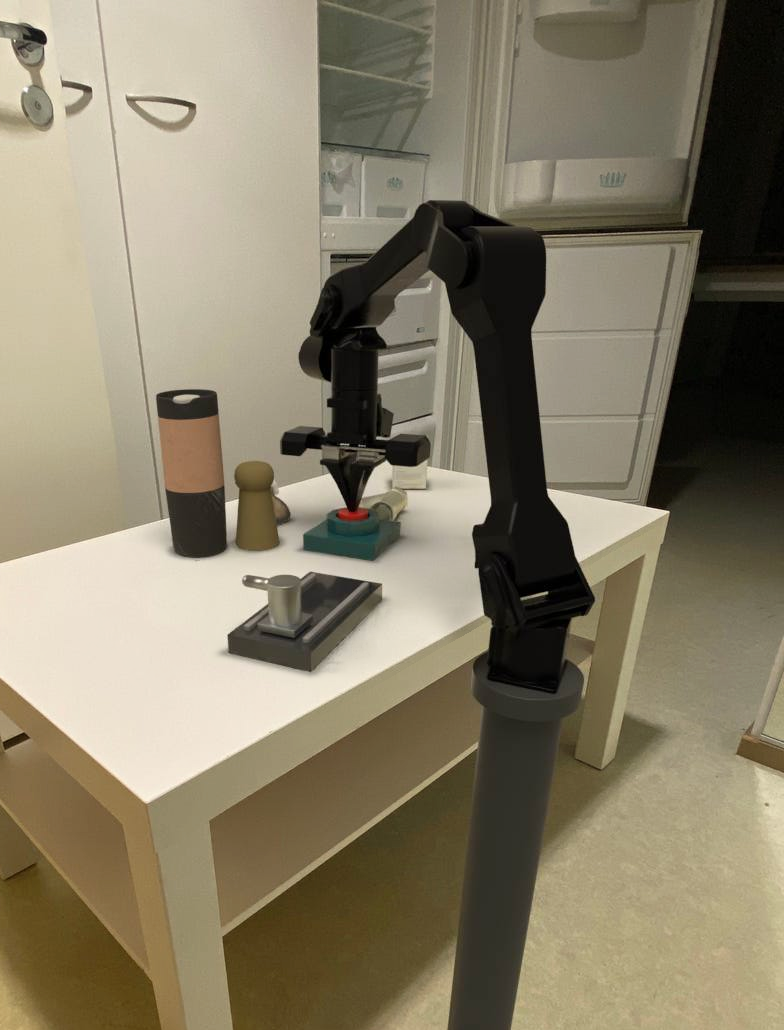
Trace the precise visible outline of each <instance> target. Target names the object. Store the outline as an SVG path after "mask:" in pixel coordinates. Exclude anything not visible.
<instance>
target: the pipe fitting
mask: <svg viewBox="0 0 784 1030" xmlns="http://www.w3.org/2000/svg"><path fill="white" fill-rule="evenodd" d="M408 497H409V496H408V492H407V491H405V490H404V489H401V488H399V487H397V486H395V487H394V488H390V489H389V490H387V491H385V492H383V493H380V494H374V495H369V496H364V497H362V498H361V501H360V504H359V507H361V508H367V509H371V510H374V511H376V512H378V514H379V516H380V519H382V520H390V521H395V519H397V515H398V514H399V513H400V512H401V511H402V510H404V509H406V508H407V507H408V504H409V503H408V502H409V500H408V499H409V498H408Z"/></svg>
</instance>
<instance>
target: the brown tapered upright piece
mask: <svg viewBox="0 0 784 1030" xmlns="http://www.w3.org/2000/svg"><path fill="white" fill-rule="evenodd" d="M233 477H234V483H235V482H236V484H237V485H236V484H235V485H236V487H237V486H238V487H239V488H238V487H237V488H238V502H237V518H236V530H235V531H236V532H235V546H236V547H237V548H238V549H241V550H245V551H266V550H271V549H273V548H275V547H278V545H280V542H281V541H280V536H279V530H278V525H277V524H276V518H275V512H274V506H273V500H272V495H271V489H270V487H271V485H272V483H273V480H275V471H274V468H273V467H272V465H271V464H270V463H268V462H266V461H261V460H249V461H244V462H241V463H239V464H237V466H236V468H235V470H234V473H233Z"/></svg>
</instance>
